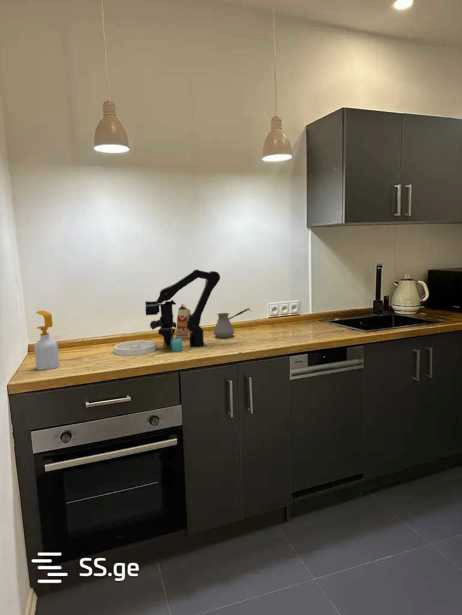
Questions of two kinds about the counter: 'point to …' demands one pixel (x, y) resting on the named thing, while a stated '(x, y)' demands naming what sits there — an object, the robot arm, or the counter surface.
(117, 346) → the dish
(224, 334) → the coffee pot
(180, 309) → the red figurine
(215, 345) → the counter surface
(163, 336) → the walnut bead
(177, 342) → the teal bead
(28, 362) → the counter surface
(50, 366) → the soap bottle
